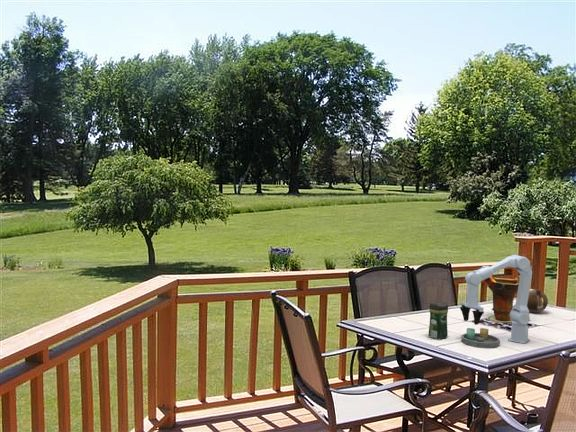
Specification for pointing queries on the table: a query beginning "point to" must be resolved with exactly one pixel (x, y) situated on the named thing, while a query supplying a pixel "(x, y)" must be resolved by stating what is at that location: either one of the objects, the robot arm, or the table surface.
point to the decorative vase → (502, 297)
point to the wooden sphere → (536, 301)
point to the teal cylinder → (470, 334)
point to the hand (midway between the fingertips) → (471, 322)
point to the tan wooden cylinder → (484, 333)
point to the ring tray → (481, 341)
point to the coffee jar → (438, 320)
